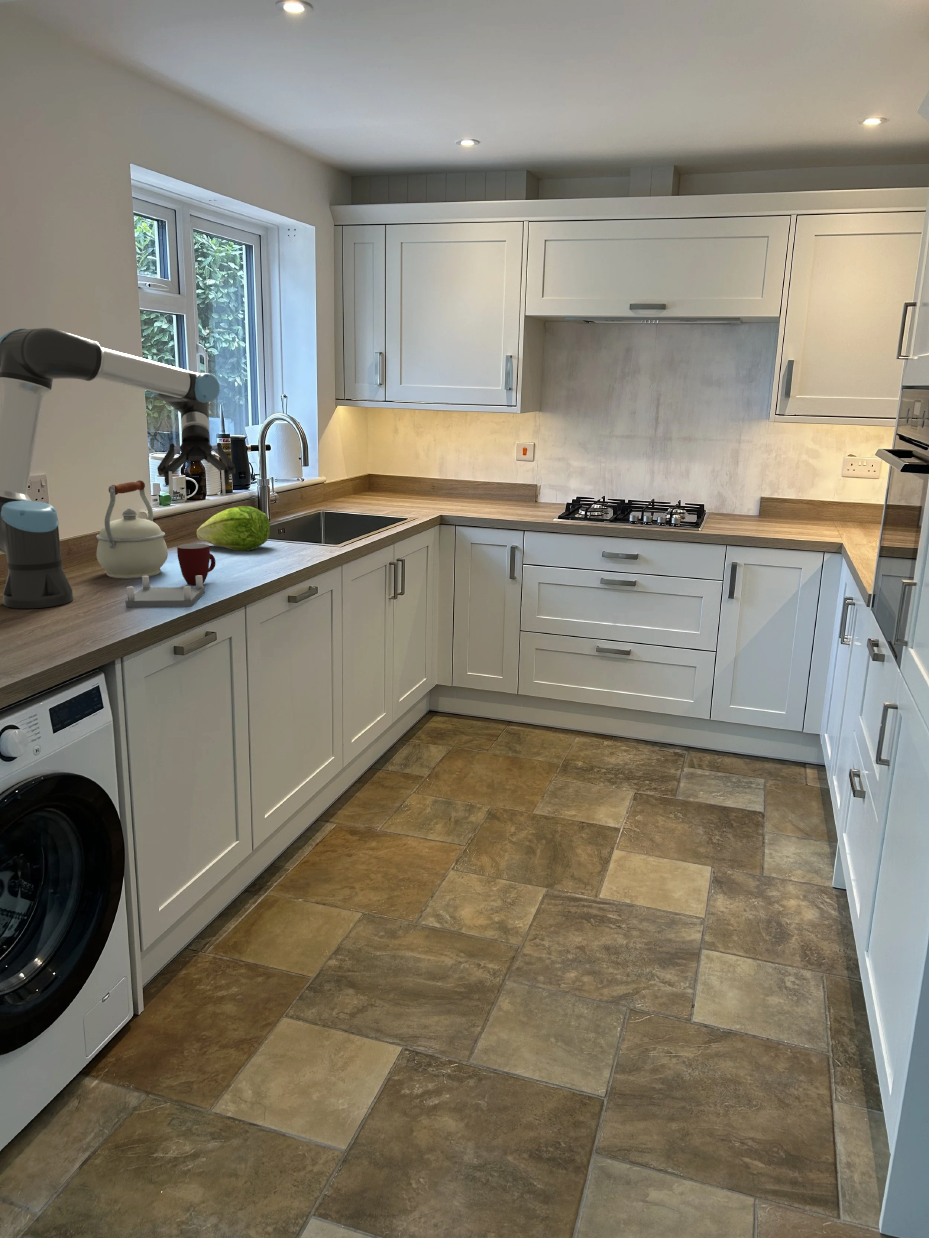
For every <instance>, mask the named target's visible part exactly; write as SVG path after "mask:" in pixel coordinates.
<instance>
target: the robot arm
mask: <svg viewBox="0 0 929 1238" xmlns="http://www.w3.org/2000/svg"><path fill="white" fill-rule="evenodd" d="M55 379H56V380H57V379H58V380H59V379H63V380H65V379H70V380H71V379H73V380H74V379H75V380H82V381H86V382H92V381H94V380H99V381H100V380H101V381H106V382H109V383H113V384H119V385H122V386H128V387H131V388H136V389H140V390H144V391H149V392H151V393H152V394H153V395H154V396H155V397H157V398H158V399H160V400H161V401H162V402H164V403H166V404H167V405H169V406H170V407H171V408H173V409H174V410H176V411H178V412H179V413H180V418H181V419H180V421H181V422H180V424H181V444H180V445H175V444H174V443H173V442H172V443H170V444H169V449H168V451H167V452H166V454H165V455H164V457H163V458H162V460H161V461H160V463H159V465H158V466H157V468H156V470H157V473H158V475H159V476H164V485H165V486H168V493H169V497H170V498H172V497H174V485H173V484H174V479H173V474H174V473H175V472H176V471H177V470H179V469H180V468H181V467H182V466H183V465H184V464H187V463H188V462H189V461H190V462H194V461H195V462H196V461H199V462H202V461H206V462H207V463H209V464H211V465H212V466H213V467H214V468H215V469H216V470H218V471H219V472H220V473H221V475H220V477H221V492H222V496H226V485H229V484H230V474H232V475H233V474H234V475H235V473H236V467H235V464H234V462H233V461H232V460H231V459H230V456H228V455H227V453H226V452H225V451H224V449H223V447H222V446H223V445H222V443H221V442H217V443H216V444H215V445H211V437H210V436H211V435H210V418H209V417H210V416H209V412H210V411H209V410H210V409H209V406H210V402H214V401H215V400H217V398H218V397H219V395H220V391H221V390H220V389H221V388H220V387H221V386H220V382H219V380H218V379H217V378H216V376H214V375H213V374H211V373H208V372H207V373H206V372H196V371H192V370H187V369H183V368H181V367H177V366H172V365H168V364H165V363H162V362H157V361H154V360H150V359H146V358H143V357H139V356H135V355H133V354H128V353H124V352H120V351H117V350H114V349H113V350H112V349H109V348H105V347H102V346H101V345H100V344H99V342H98V341H95V340H93V339H89V338H86V337H82V336H81V335H80V336H79V335H76V334H73V333H69V332H67V331H63V330H61V329H56V328H51V327H41V328H18V329H14V330H11V331H8V332H6V333H4V334H3V335H1V336H0V384H1V385H2V386H3V393H2V400H1V406H0V407H1V408H0V553H1V554H5V555H6V562H7V576H6V580H5V585H4V589H3V592H2V601H3V605H4V606H5V607H7V608H12V609H41V608H43V609H44V608H51V607H55V606H61V605H65V604H68V603H70V602H72V601H74V591H73V588H72V586H71V584H70V582H69V580H68V577H67V575H66V573H65V571H64V569H63V563H62V553H61V551H62V550H61V541H60V540H61V539H60V530H59V524H60V522H59V518H58V514H57V510H56V508H55V507H54V506H53V505H52V504H49V503H48V502H44V501H34V500H32V499H31V498H30V496H29V495H28V489H29V483H30V477H31V472H32V466H33V465H32V463H33V458H34V453H35V447H36V441H37V437H38V436H37V435H38V430H39V424H40V417H41V410H42V406H43V400H44V397H45V396H46V395H48V394H50V393H51V392H52V387H53V381H54V380H55ZM179 452H180V453H179ZM212 452H214V453H216V454H217V455H218V457H219V458H217V457H216V456H215V455H214V454H212ZM178 453H179V455H178ZM175 455H178V456H176V458H175ZM174 458H175V459H174Z"/></svg>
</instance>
